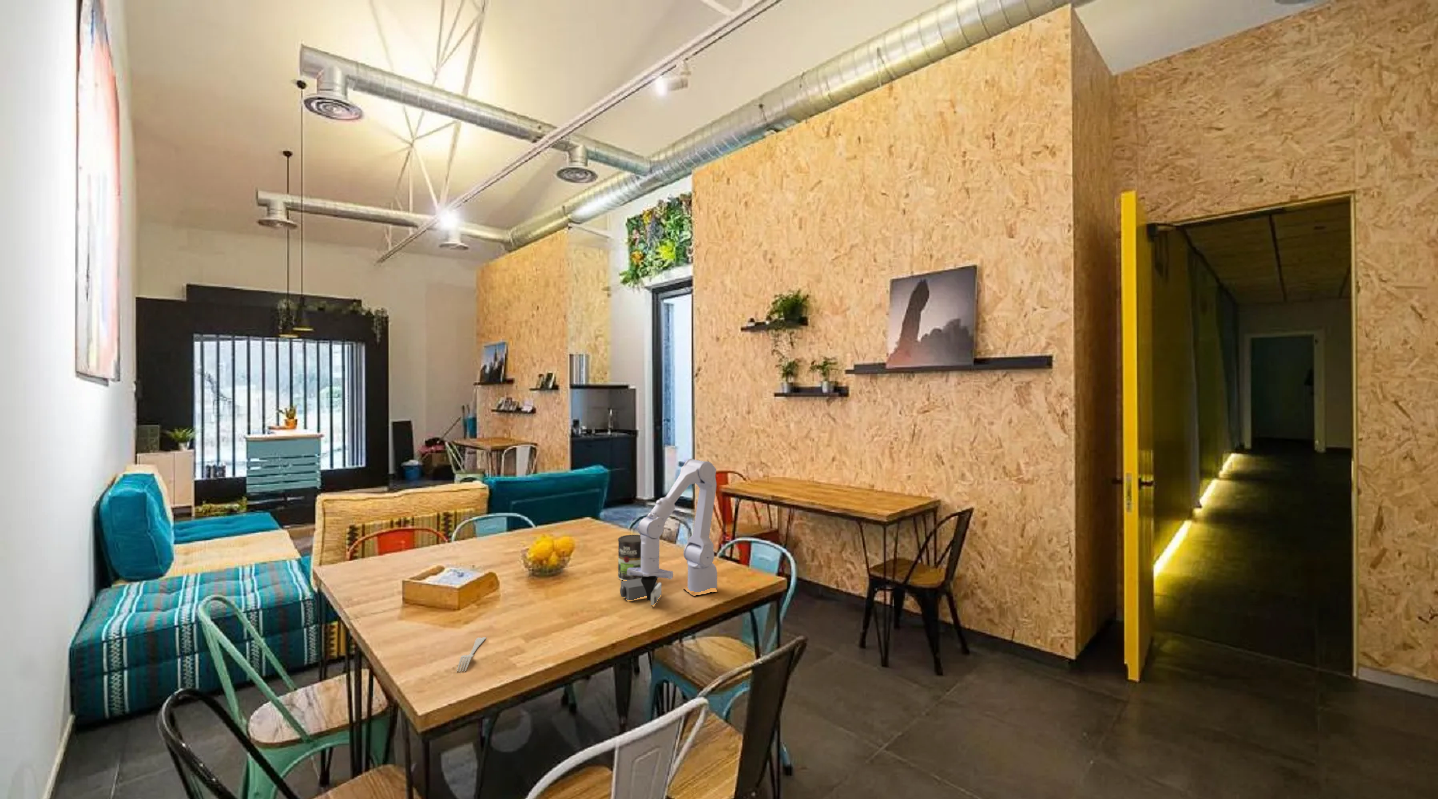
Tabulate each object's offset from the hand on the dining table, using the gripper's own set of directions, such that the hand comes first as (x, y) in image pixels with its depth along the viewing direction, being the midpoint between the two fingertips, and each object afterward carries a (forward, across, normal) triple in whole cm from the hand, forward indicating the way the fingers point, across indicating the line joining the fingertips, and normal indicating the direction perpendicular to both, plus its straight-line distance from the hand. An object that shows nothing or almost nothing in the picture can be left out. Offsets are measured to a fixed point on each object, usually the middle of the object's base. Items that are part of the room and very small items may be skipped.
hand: (649, 599), depth 186 cm
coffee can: (+2, -15, +24) cm, 28 cm away
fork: (+2, -33, -43) cm, 54 cm away
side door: (+2, +2, +3) cm, 4 cm away
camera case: (+2, -6, +7) cm, 9 cm away
